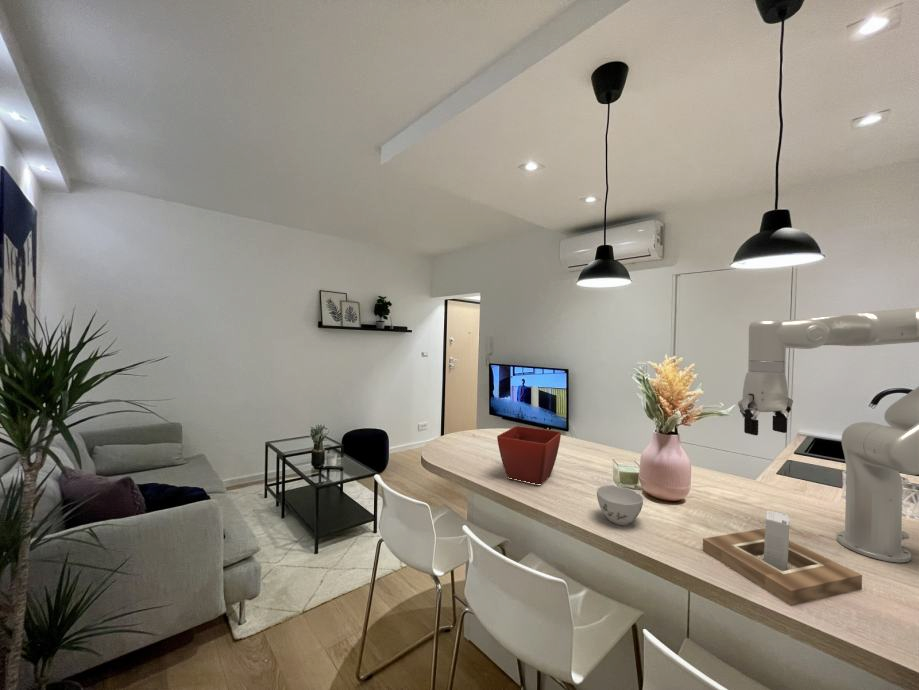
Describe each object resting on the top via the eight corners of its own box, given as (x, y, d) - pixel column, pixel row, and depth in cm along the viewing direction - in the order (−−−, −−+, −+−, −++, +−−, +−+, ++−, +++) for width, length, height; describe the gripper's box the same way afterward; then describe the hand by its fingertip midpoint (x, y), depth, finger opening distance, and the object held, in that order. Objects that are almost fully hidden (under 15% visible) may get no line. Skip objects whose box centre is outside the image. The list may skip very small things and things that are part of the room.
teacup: (628, 536, 100) (629, 507, 100) (587, 518, 110) (587, 491, 110) (655, 519, 110) (655, 492, 109) (614, 504, 119) (615, 480, 119)
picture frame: (764, 539, 99) (764, 528, 99) (861, 588, 79) (862, 574, 79) (702, 550, 94) (702, 538, 94) (791, 605, 74) (791, 590, 74)
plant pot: (545, 491, 130) (545, 443, 129) (495, 481, 140) (495, 436, 139) (561, 474, 146) (561, 431, 146) (516, 466, 156) (516, 425, 156)
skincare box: (763, 558, 90) (764, 508, 90) (788, 565, 87) (789, 514, 87) (762, 570, 86) (763, 517, 86) (788, 578, 83) (789, 524, 83)
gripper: (776, 366, 104) (775, 427, 104) (726, 367, 99) (726, 431, 100) (807, 368, 96) (806, 434, 97) (755, 369, 92) (754, 438, 92)
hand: (765, 432), depth 98 cm, fingers open, 9 cm apart
